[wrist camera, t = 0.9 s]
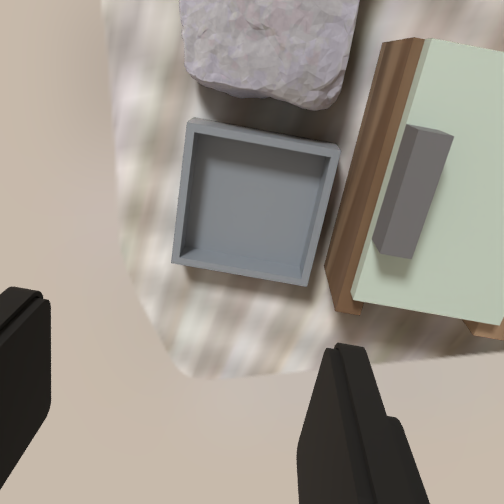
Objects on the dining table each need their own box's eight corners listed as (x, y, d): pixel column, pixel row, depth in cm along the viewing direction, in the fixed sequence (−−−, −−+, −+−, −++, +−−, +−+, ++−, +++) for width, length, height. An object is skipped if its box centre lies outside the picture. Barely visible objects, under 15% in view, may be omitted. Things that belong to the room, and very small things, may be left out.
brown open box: (638, 91, 27) (740, 100, 21) (535, 303, 33) (593, 356, 27) (382, 42, 27) (413, 37, 21) (324, 265, 33) (335, 311, 27)
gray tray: (335, 143, 29) (341, 150, 27) (304, 271, 33) (306, 286, 31) (193, 117, 29) (187, 122, 27) (178, 248, 33) (171, 263, 30)
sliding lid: (600, 73, 21) (650, 74, 18) (491, 316, 26) (517, 346, 24) (424, 39, 21) (448, 35, 18) (350, 291, 26) (359, 318, 23)
